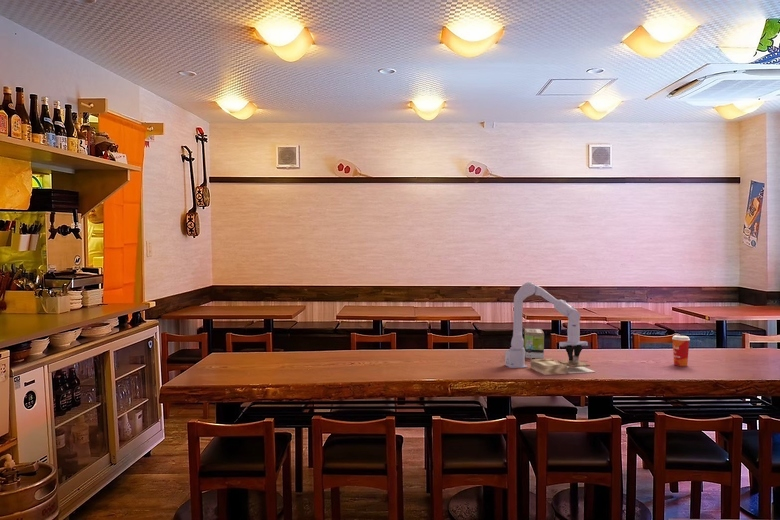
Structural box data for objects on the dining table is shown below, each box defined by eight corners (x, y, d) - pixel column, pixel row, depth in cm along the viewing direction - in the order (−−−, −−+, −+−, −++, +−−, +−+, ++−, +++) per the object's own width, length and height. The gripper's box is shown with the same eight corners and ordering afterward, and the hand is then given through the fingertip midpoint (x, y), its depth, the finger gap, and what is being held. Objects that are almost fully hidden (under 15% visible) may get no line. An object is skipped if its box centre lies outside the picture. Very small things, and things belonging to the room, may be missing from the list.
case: (544, 374, 241) (544, 365, 241) (530, 368, 255) (530, 359, 255) (567, 373, 243) (567, 364, 243) (552, 367, 257) (552, 358, 257)
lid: (569, 367, 245) (569, 358, 244) (558, 362, 256) (558, 354, 256) (589, 366, 246) (589, 358, 246) (577, 361, 257) (577, 353, 257)
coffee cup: (670, 362, 266) (670, 334, 266) (687, 363, 264) (688, 335, 263) (673, 366, 259) (673, 337, 258) (691, 367, 256) (691, 338, 256)
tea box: (544, 359, 276) (544, 332, 275) (525, 358, 278) (525, 332, 277) (541, 353, 290) (541, 328, 290) (523, 353, 292) (523, 328, 292)
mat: (568, 373, 243) (568, 372, 243) (554, 367, 257) (554, 366, 257) (595, 372, 246) (595, 371, 246) (579, 365, 259) (579, 365, 259)
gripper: (564, 335, 246) (564, 362, 246) (591, 334, 248) (591, 361, 249) (557, 332, 253) (557, 359, 253) (583, 331, 255) (583, 358, 255)
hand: (573, 360), depth 251 cm, fingers closed on lid, 2 cm apart
